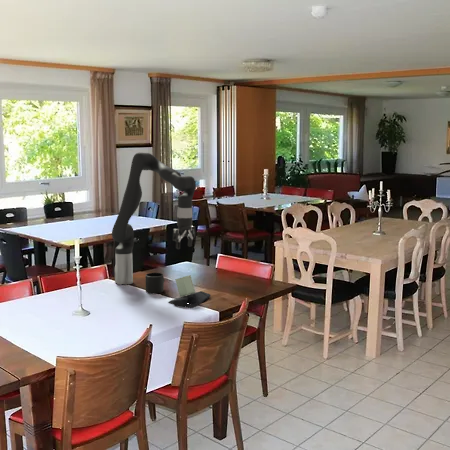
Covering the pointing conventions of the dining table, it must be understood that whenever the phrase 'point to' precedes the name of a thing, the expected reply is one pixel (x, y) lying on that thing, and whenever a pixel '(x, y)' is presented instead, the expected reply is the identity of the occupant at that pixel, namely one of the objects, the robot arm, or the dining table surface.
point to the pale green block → (185, 286)
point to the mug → (154, 282)
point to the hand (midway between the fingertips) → (184, 247)
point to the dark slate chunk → (190, 300)
